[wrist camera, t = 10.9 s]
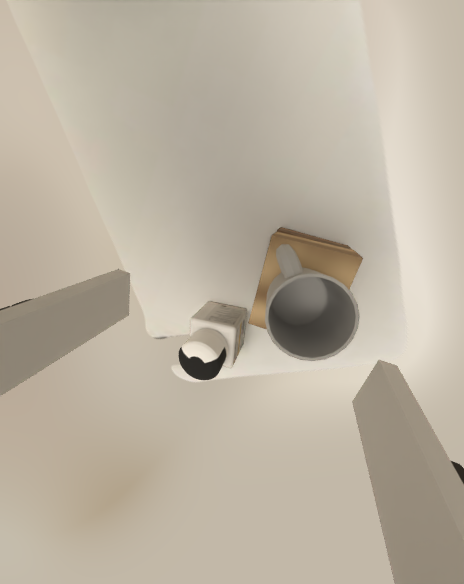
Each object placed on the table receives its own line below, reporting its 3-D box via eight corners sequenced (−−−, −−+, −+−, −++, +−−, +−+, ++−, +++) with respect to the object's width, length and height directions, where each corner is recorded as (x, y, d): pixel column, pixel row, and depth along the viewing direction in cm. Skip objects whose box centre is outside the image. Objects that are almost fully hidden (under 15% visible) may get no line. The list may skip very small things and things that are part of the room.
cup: (278, 333, 28) (281, 370, 19) (250, 257, 27) (240, 259, 18) (337, 316, 26) (371, 347, 18) (310, 234, 25) (331, 223, 17)
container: (243, 344, 44) (220, 393, 32) (206, 335, 46) (172, 378, 34) (247, 308, 41) (224, 348, 29) (208, 300, 43) (171, 334, 31)
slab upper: (276, 231, 30) (271, 235, 26) (354, 250, 28) (363, 258, 24) (255, 308, 35) (248, 323, 31) (320, 329, 33) (322, 348, 29)
